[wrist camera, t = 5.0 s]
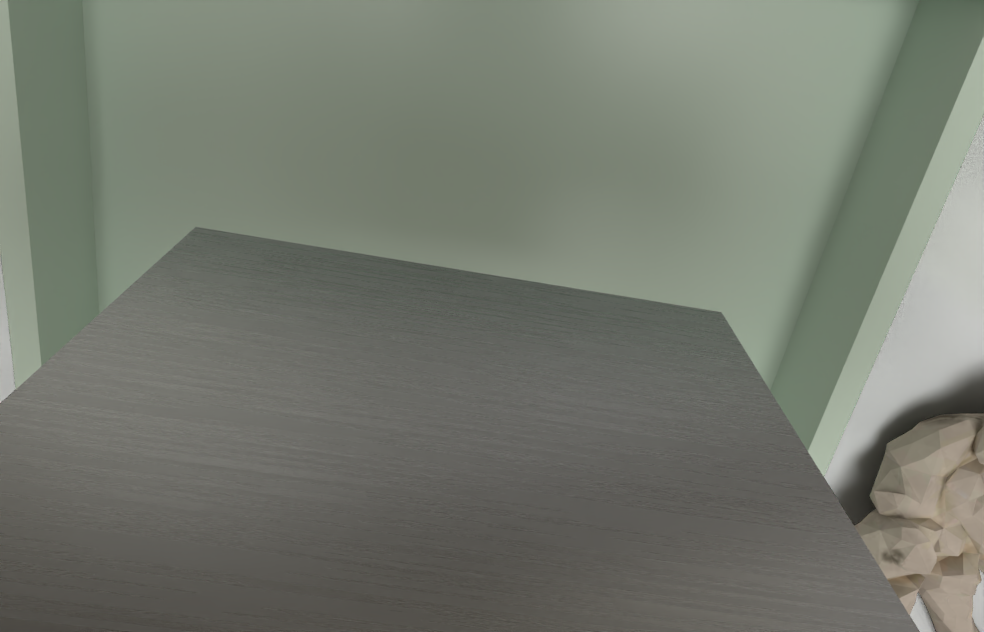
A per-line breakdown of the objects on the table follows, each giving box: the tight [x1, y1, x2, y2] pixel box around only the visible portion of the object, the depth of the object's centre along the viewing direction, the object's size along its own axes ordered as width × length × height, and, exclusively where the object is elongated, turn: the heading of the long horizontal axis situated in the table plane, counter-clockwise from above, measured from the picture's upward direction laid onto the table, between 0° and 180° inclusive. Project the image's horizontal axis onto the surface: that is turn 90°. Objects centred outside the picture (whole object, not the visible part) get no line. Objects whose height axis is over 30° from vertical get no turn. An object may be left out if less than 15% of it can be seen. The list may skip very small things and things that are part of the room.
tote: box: [0, 0, 984, 477], centre depth 16 cm, size 18×13×3 cm
